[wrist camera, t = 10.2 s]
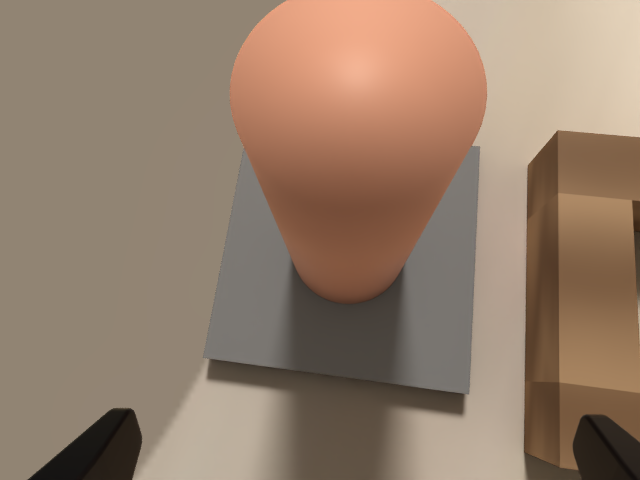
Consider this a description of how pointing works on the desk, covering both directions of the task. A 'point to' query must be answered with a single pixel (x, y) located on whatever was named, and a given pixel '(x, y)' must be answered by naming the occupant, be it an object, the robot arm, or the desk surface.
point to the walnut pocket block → (581, 290)
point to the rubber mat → (351, 319)
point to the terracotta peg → (356, 130)
